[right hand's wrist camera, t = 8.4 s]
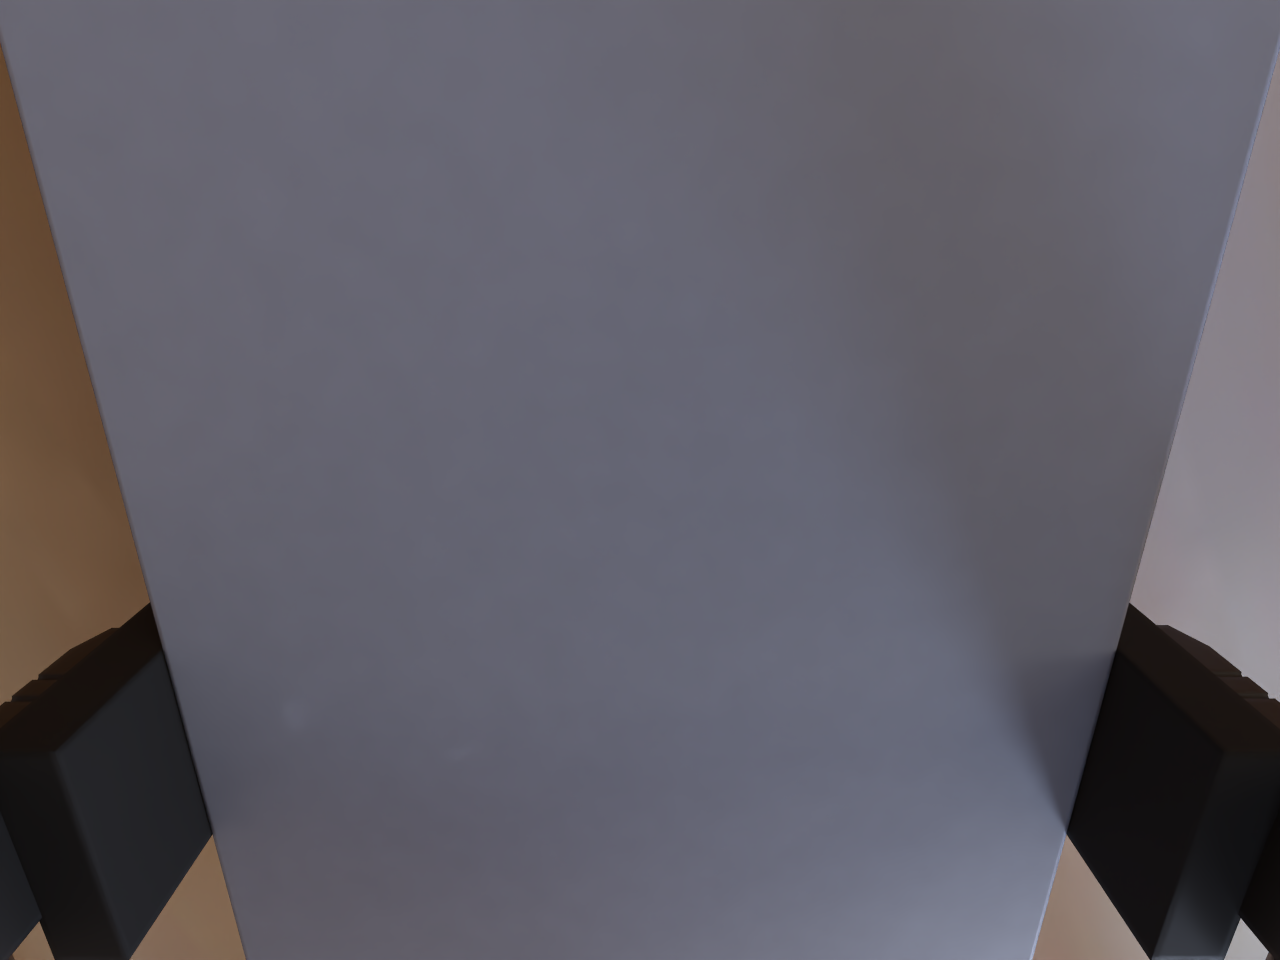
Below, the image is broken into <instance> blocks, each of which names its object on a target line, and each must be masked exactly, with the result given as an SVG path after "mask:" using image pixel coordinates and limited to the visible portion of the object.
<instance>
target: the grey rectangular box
mask: <svg viewBox="0 0 1280 960" xmlns="http://www.w3.org/2000/svg"><path fill="white" fill-rule="evenodd" d="M0 43H1V47H2V51H3V54H4V58H5V62H6V65H7V69H8V73H9V77H10V80H11V84H12V88H13V92H14V95H15V99H16V103H17V107H18V110H19V114H20V118H21V121H22V125H23V129H24V133H25V136H26V140H27V144H28V148H29V151H30V155H31V159H32V162H33V166H34V170H35V174H36V177H37V181H38V185H39V189H40V192H41V196H42V200H43V203H44V207H45V211H46V215H47V218H48V222H49V226H50V230H51V233H52V237H53V241H54V245H55V248H56V252H57V256H58V259H59V263H60V267H61V271H62V274H63V278H64V282H65V286H66V289H67V293H68V297H69V300H70V304H71V308H72V312H73V315H74V319H75V323H76V327H77V330H78V334H79V338H80V341H81V345H82V349H83V353H84V356H85V360H86V364H87V368H88V371H89V375H90V379H91V383H92V386H93V390H94V394H95V397H96V401H97V405H98V409H99V412H100V416H101V420H102V424H103V427H104V431H105V435H106V438H107V442H108V446H109V450H110V453H111V457H112V461H113V465H114V468H115V472H116V476H117V479H118V483H119V487H120V491H121V494H122V498H123V502H124V506H125V509H126V513H127V517H128V521H129V524H130V528H131V532H132V535H133V539H134V543H135V547H136V550H137V554H138V558H139V562H140V565H141V569H142V573H143V576H144V580H145V584H146V588H147V591H148V595H149V599H150V603H151V606H152V610H153V614H154V617H155V621H156V625H157V629H158V632H159V636H160V640H161V644H162V647H163V651H164V655H165V659H166V662H167V666H168V670H169V673H170V677H171V681H172V685H173V688H174V692H175V696H176V700H177V703H178V707H179V711H180V714H181V718H182V722H183V726H184V729H185V733H186V737H187V741H188V744H189V748H190V752H191V755H192V759H193V763H194V767H195V770H196V774H197V778H198V782H199V785H200V789H201V793H202V797H203V800H204V804H205V808H206V811H207V815H208V819H209V823H210V826H211V830H212V834H213V838H214V841H215V845H216V849H217V852H218V856H219V860H220V864H221V867H222V871H223V875H224V879H225V882H226V886H227V890H228V893H229V897H230V901H231V905H232V908H233V912H234V916H235V920H236V923H237V927H238V931H239V935H240V938H241V942H242V946H243V949H244V953H245V957H246V960H1032V959H1033V955H1034V951H1035V948H1036V944H1037V940H1038V937H1039V933H1040V929H1041V926H1042V922H1043V918H1044V915H1045V911H1046V907H1047V903H1048V900H1049V896H1050V892H1051V889H1052V885H1053V881H1054V878H1055V874H1056V870H1057V867H1058V863H1059V859H1060V856H1061V852H1062V848H1063V845H1064V841H1065V837H1066V833H1067V830H1068V826H1069V822H1070V819H1071V815H1072V811H1073V808H1074V804H1075V800H1076V797H1077V793H1078V789H1079V786H1080V782H1081V778H1082V775H1083V771H1084V767H1085V764H1086V760H1087V756H1088V752H1089V749H1090V745H1091V741H1092V738H1093V734H1094V730H1095V727H1096V723H1097V719H1098V716H1099V712H1100V708H1101V705H1102V701H1103V697H1104V694H1105V690H1106V686H1107V683H1108V679H1109V675H1110V671H1111V668H1112V664H1113V660H1114V657H1115V653H1116V649H1117V646H1118V642H1119V638H1120V635H1121V631H1122V627H1123V624H1124V620H1125V616H1126V613H1127V609H1128V605H1129V601H1130V598H1131V594H1132V590H1133V587H1134V583H1135V579H1136V576H1137V572H1138V568H1139V565H1140V561H1141V557H1142V554H1143V550H1144V546H1145V543H1146V539H1147V535H1148V532H1149V528H1150V524H1151V520H1152V517H1153V513H1154V509H1155V506H1156V502H1157V498H1158V495H1159V491H1160V487H1161V484H1162V480H1163V476H1164V473H1165V469H1166V465H1167V462H1168V458H1169V454H1170V450H1171V447H1172V443H1173V439H1174V436H1175V432H1176V428H1177V425H1178V421H1179V417H1180V414H1181V410H1182V406H1183V403H1184V399H1185V395H1186V392H1187V388H1188V384H1189V381H1190V377H1191V373H1192V369H1193V366H1194V362H1195V358H1196V355H1197V351H1198V347H1199V344H1200V340H1201V336H1202V333H1203V329H1204V325H1205V322H1206V318H1207V314H1208V311H1209V307H1210V303H1211V299H1212V296H1213V292H1214V288H1215V285H1216V281H1217V277H1218V274H1219V270H1220V266H1221V263H1222V259H1223V255H1224V252H1225V248H1226V244H1227V241H1228V237H1229V233H1230V230H1231V226H1232V222H1233V218H1234V215H1235V211H1236V207H1237V204H1238V200H1239V196H1240V193H1241V189H1242V185H1243V182H1244V178H1245V174H1246V171H1247V167H1248V163H1249V160H1250V156H1251V152H1252V148H1253V145H1254V141H1255V137H1256V134H1257V130H1258V126H1259V123H1260V119H1261V115H1262V112H1263V108H1264V104H1265V101H1266V97H1267V93H1268V90H1269V86H1270V82H1271V79H1272V75H1273V71H1274V67H1275V64H1276V60H1277V56H1278V53H1279V49H1280V0H0Z"/></svg>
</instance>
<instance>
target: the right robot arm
mask: <svg viewBox="0 0 1280 960" xmlns="http://www.w3.org/2000/svg"><path fill="white" fill-rule="evenodd" d="M1066 834H1067V835H1068V837H1069V838H1070V840H1071V841H1072V843H1073V844H1074V846H1075V847H1076V849H1077V850H1078V852H1079V853H1080V855H1081V857H1082V858H1083V860H1084V861H1085V863H1086V864H1087V866H1088V867H1089V869H1090V870H1091V872H1092V873H1093V875H1094V876H1095V878H1096V879H1097V881H1098V882H1099V884H1100V885H1101V887H1102V888H1103V890H1104V891H1105V893H1106V894H1107V896H1108V897H1109V899H1110V900H1111V902H1112V903H1113V905H1114V906H1115V908H1116V909H1117V911H1118V912H1119V914H1120V915H1121V917H1122V918H1123V920H1124V921H1125V923H1126V924H1127V926H1128V927H1129V929H1130V930H1131V932H1132V933H1133V935H1134V936H1135V938H1136V939H1137V941H1138V942H1139V944H1140V945H1141V947H1142V948H1143V950H1144V951H1145V953H1146V954H1147V956H1148V957H1149V959H1150V960H1224V958H1225V956H1226V953H1227V951H1228V948H1229V946H1230V943H1231V941H1232V938H1233V936H1234V933H1235V931H1236V928H1237V926H1238V923H1239V921H1240V918H1241V919H1242V920H1243V921H1244V922H1245V924H1246V925H1247V926H1248V927H1249V928H1250V930H1251V931H1252V932H1253V933H1254V934H1255V936H1256V937H1257V938H1258V939H1259V940H1260V942H1261V943H1262V944H1263V945H1264V946H1265V948H1266V949H1267V950H1268V951H1269V953H1268V955H1267V958H1266V960H1280V702H1278V701H1277V700H1276V699H1269V698H1268V693H1267V692H1266V691H1265V690H1263V689H1262V688H1261V687H1260V686H1258V685H1257V684H1256V683H1255V682H1253V681H1252V680H1251V679H1250V678H1248V677H1242V675H1241V671H1240V670H1238V669H1237V668H1236V667H1235V666H1233V665H1232V664H1231V663H1230V662H1228V661H1227V660H1226V659H1225V658H1223V657H1222V656H1221V655H1220V654H1218V653H1217V652H1216V651H1215V650H1213V649H1212V648H1211V647H1209V646H1208V645H1206V644H1204V643H1202V642H1200V641H1198V640H1196V639H1194V638H1192V637H1190V636H1188V635H1186V634H1184V633H1182V632H1180V631H1178V630H1176V629H1174V628H1172V627H1170V626H1168V625H1155V624H1154V623H1153V622H1152V621H1151V620H1149V619H1148V618H1147V617H1146V616H1145V615H1144V614H1142V613H1141V612H1140V611H1139V610H1138V609H1136V608H1135V607H1134V606H1133V605H1132V604H1130V603H1129V605H1128V609H1127V613H1126V616H1125V620H1124V624H1123V627H1122V631H1121V635H1120V638H1119V642H1118V646H1117V649H1116V653H1115V657H1114V660H1113V664H1112V668H1111V671H1110V675H1109V679H1108V683H1107V686H1106V690H1105V694H1104V697H1103V701H1102V705H1101V708H1100V712H1099V716H1098V719H1097V723H1096V727H1095V730H1094V734H1093V738H1092V741H1091V745H1090V749H1089V752H1088V756H1087V760H1086V764H1085V767H1084V771H1083V775H1082V778H1081V782H1080V786H1079V789H1078V793H1077V797H1076V800H1075V804H1074V808H1073V811H1072V815H1071V819H1070V822H1069V826H1068V830H1067V833H1066ZM211 836H212V830H211V826H210V823H209V819H208V815H207V811H206V808H205V804H204V800H203V797H202V793H201V789H200V785H199V782H198V778H197V774H196V770H195V767H194V763H193V759H192V755H191V752H190V748H189V744H188V741H187V737H186V733H185V729H184V726H183V722H182V718H181V714H180V711H179V707H178V703H177V700H176V696H175V692H174V688H173V685H172V681H171V677H170V673H169V670H168V666H167V662H166V659H165V655H164V651H163V647H162V644H161V640H160V636H159V632H158V629H157V625H156V621H155V617H154V614H153V610H152V606H151V603H149V604H147V605H146V606H145V607H144V608H143V609H142V610H140V611H139V612H138V613H137V614H136V615H134V616H133V617H132V618H131V619H130V620H128V621H127V622H126V623H125V624H124V625H122V626H121V627H120V628H111V629H109V630H107V631H105V632H103V633H101V634H99V635H97V636H95V637H93V638H91V639H89V640H88V641H86V642H84V643H82V644H80V645H78V646H76V647H74V648H72V649H70V650H69V651H68V652H66V653H65V654H64V655H63V656H61V657H60V658H59V659H58V660H56V661H55V662H54V663H53V664H51V665H50V666H49V667H48V668H46V669H45V670H44V671H43V672H41V673H40V674H39V678H38V680H32V681H30V682H29V683H28V684H27V685H25V686H24V687H23V688H22V689H20V690H19V691H18V692H17V693H15V694H14V695H13V696H12V701H11V702H4V703H3V704H2V705H0V960H14V958H13V955H12V954H13V952H14V951H15V950H16V949H17V947H18V946H19V945H20V944H21V943H22V941H23V940H24V939H25V938H26V937H27V935H28V934H29V933H30V932H31V930H32V929H33V928H34V927H35V926H36V924H37V923H38V922H39V921H40V924H41V926H42V929H43V931H44V934H45V936H46V939H47V941H48V944H49V946H50V949H51V951H52V954H53V956H54V959H55V960H129V959H130V958H131V956H132V955H133V953H134V952H135V950H136V949H137V947H138V946H139V944H140V943H141V941H142V940H143V938H144V937H145V935H146V934H147V932H148V931H149V929H150V928H151V926H152V925H153V923H154V922H155V920H156V919H157V917H158V916H159V914H160V913H161V911H162V910H163V908H164V906H165V905H166V903H167V902H168V900H169V899H170V897H171V896H172V894H173V893H174V891H175V890H176V888H177V887H178V885H179V884H180V882H181V881H182V879H183V878H184V876H185V875H186V873H187V872H188V870H189V869H190V867H191V866H192V864H193V863H194V861H195V860H196V858H197V857H198V855H199V854H200V852H201V851H202V849H203V848H204V846H205V845H206V843H207V842H208V840H209V839H210V837H211Z"/></svg>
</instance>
